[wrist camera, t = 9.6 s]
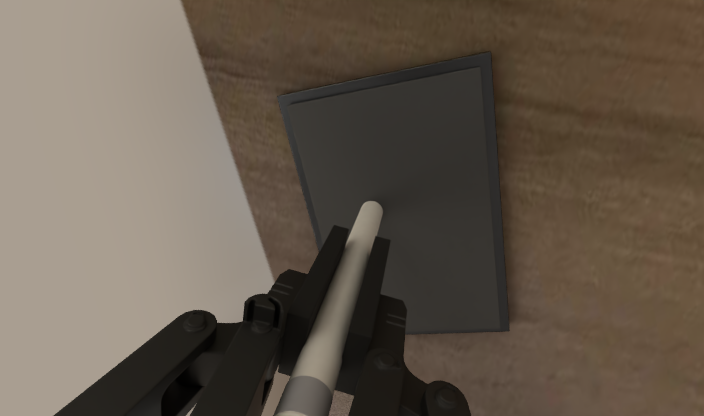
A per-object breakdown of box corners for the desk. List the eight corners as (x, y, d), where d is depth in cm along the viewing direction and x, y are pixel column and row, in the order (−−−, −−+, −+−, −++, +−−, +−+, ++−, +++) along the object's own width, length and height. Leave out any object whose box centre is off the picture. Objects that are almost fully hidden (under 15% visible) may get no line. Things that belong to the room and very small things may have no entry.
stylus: (355, 208, 24) (259, 425, 10) (373, 195, 23) (295, 407, 10) (370, 225, 24) (294, 458, 10) (388, 213, 23) (332, 442, 10)
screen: (288, 104, 22) (286, 105, 22) (479, 66, 19) (480, 66, 19) (347, 330, 28) (346, 333, 28) (499, 325, 25) (500, 328, 25)
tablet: (281, 94, 23) (276, 96, 22) (488, 51, 20) (491, 51, 19) (343, 329, 29) (341, 336, 29) (507, 323, 26) (509, 331, 26)
